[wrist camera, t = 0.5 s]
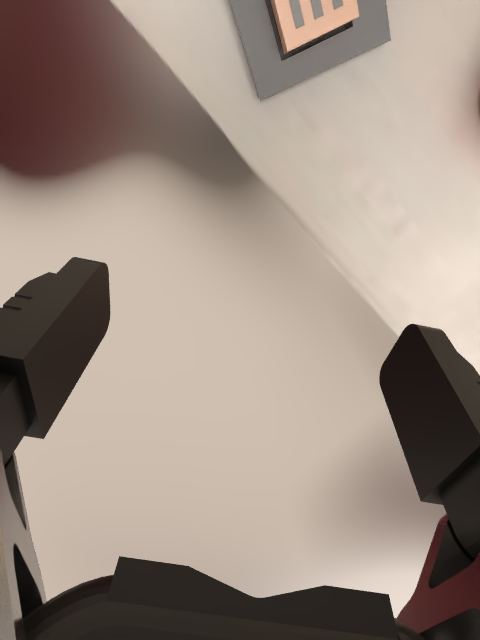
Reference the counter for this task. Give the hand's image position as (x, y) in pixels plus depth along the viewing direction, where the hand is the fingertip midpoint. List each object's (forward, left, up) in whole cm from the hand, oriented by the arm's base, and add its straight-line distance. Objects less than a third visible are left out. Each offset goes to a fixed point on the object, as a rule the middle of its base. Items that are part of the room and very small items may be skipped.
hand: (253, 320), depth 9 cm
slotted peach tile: (-9, -3, -22) cm, 24 cm away
